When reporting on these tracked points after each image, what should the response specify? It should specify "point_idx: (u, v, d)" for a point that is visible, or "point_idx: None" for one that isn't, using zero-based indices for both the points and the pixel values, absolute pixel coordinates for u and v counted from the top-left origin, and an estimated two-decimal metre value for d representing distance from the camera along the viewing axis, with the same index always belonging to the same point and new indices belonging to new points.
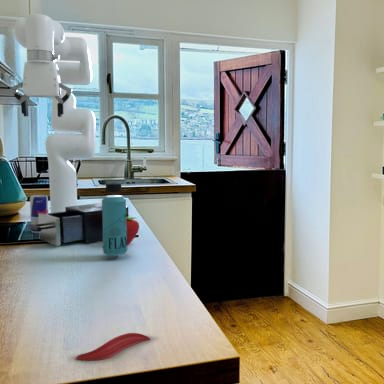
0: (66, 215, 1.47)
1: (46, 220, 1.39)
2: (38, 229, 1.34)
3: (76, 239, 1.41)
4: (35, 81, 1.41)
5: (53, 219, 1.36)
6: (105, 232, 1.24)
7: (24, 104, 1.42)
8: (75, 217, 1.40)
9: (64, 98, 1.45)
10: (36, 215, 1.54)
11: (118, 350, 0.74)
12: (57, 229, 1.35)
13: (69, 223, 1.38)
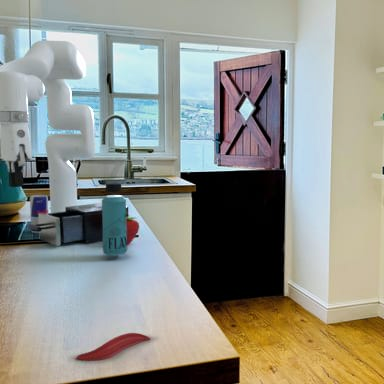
0: (66, 215, 1.47)
1: (46, 220, 1.39)
2: (38, 229, 1.34)
3: (76, 239, 1.41)
4: (3, 144, 1.29)
5: (53, 219, 1.36)
6: (105, 232, 1.24)
7: (9, 174, 1.30)
8: (75, 217, 1.40)
9: (15, 167, 1.29)
10: (36, 215, 1.54)
11: (118, 350, 0.74)
12: (57, 229, 1.35)
13: (69, 223, 1.38)
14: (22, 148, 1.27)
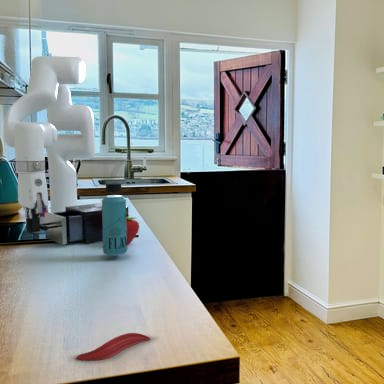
0: (72, 214, 1.49)
1: (52, 219, 1.40)
2: (44, 228, 1.36)
3: (82, 238, 1.42)
4: (21, 192, 1.34)
5: (59, 218, 1.37)
6: (105, 232, 1.24)
7: (26, 220, 1.35)
8: (81, 216, 1.41)
9: (32, 213, 1.33)
10: None
11: (118, 350, 0.74)
12: (63, 228, 1.37)
13: (75, 222, 1.40)
14: (39, 196, 1.32)
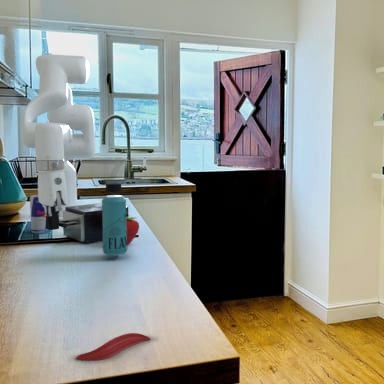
0: None
1: (71, 217, 1.44)
2: (64, 225, 1.40)
3: None
4: (41, 190, 1.38)
5: (78, 216, 1.41)
6: (105, 232, 1.24)
7: (46, 217, 1.39)
8: None
9: (52, 211, 1.38)
10: (36, 215, 1.54)
11: (118, 350, 0.74)
12: (82, 225, 1.41)
13: None
14: (59, 194, 1.36)
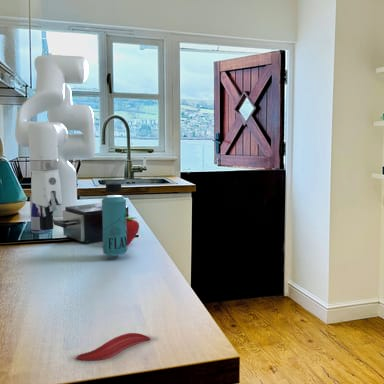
0: None
1: (71, 217, 1.44)
2: (64, 225, 1.40)
3: None
4: (34, 190, 1.37)
5: (78, 216, 1.41)
6: (105, 232, 1.24)
7: (40, 218, 1.38)
8: None
9: (46, 211, 1.36)
10: (36, 215, 1.54)
11: (118, 350, 0.74)
12: (82, 225, 1.41)
13: None
14: (53, 194, 1.35)
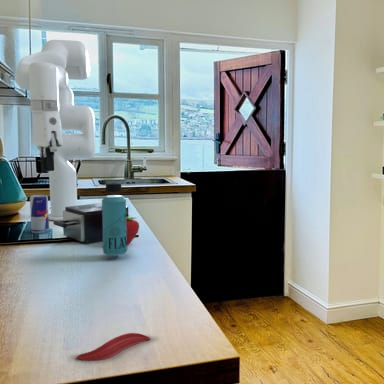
0: None
1: (71, 217, 1.44)
2: (64, 225, 1.40)
3: None
4: (35, 131, 1.38)
5: (78, 216, 1.41)
6: (105, 232, 1.24)
7: (41, 159, 1.39)
8: None
9: (47, 152, 1.37)
10: (36, 215, 1.54)
11: (118, 350, 0.74)
12: (82, 225, 1.41)
13: None
14: (54, 135, 1.36)
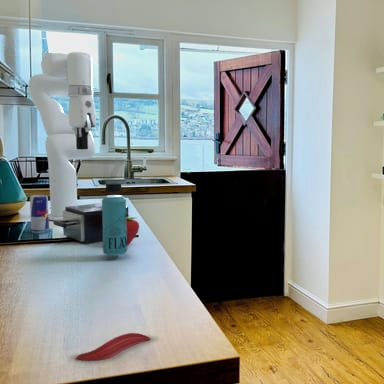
0: None
1: (71, 217, 1.44)
2: (64, 225, 1.40)
3: None
4: (72, 113, 1.55)
5: (78, 216, 1.41)
6: (105, 232, 1.24)
7: (76, 138, 1.56)
8: None
9: (82, 132, 1.54)
10: (36, 215, 1.54)
11: (118, 350, 0.74)
12: (82, 225, 1.41)
13: None
14: (89, 116, 1.53)
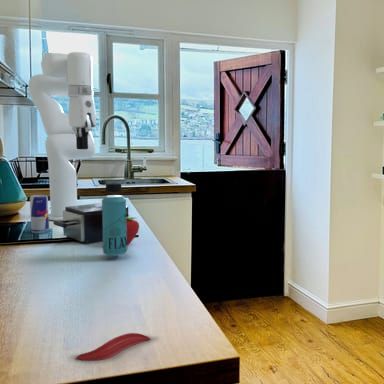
0: None
1: (71, 217, 1.44)
2: (64, 225, 1.40)
3: None
4: (72, 113, 1.55)
5: (78, 216, 1.41)
6: (105, 232, 1.24)
7: (77, 138, 1.56)
8: None
9: (82, 132, 1.55)
10: (36, 215, 1.54)
11: (118, 350, 0.74)
12: (82, 225, 1.41)
13: None
14: (89, 116, 1.53)
